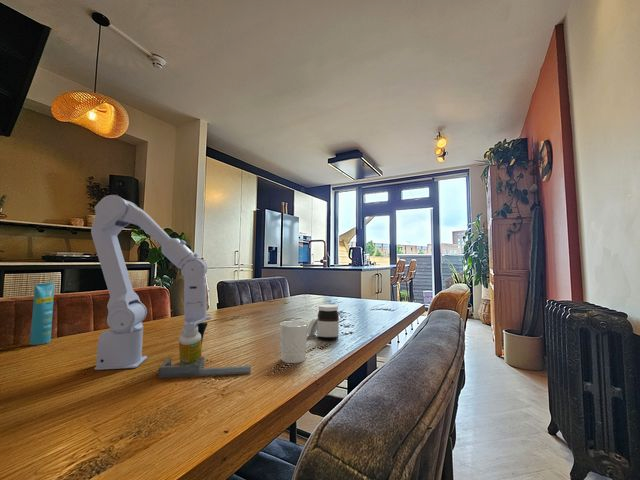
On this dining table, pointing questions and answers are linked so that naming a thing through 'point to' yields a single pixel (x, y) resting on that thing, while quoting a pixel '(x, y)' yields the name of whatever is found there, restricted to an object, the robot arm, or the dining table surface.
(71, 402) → the dining table surface
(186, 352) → the supplement bottle
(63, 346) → the dining table surface
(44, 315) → the tube
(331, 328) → the spread jar
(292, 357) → the white cup
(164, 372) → the rail
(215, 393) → the dining table surface
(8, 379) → the dining table surface
